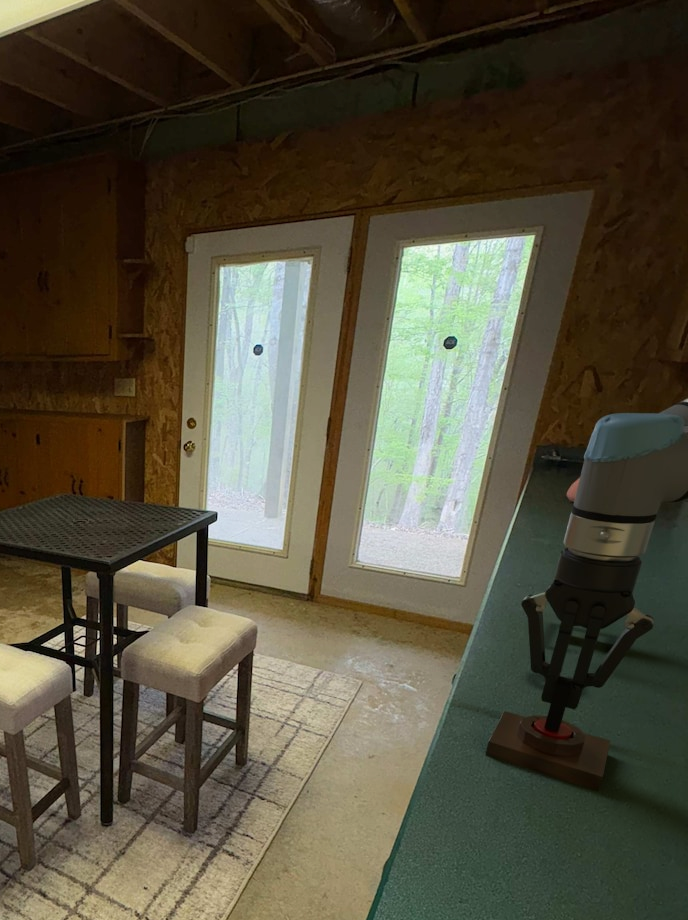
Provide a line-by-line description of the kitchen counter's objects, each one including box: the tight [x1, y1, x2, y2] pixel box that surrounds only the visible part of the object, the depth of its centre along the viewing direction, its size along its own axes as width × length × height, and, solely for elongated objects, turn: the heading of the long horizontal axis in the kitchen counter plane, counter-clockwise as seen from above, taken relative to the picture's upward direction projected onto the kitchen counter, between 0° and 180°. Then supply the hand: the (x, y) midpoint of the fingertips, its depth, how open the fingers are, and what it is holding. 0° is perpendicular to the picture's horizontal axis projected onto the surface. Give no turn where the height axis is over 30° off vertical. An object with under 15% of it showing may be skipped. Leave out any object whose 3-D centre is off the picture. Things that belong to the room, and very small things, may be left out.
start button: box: [533, 719, 572, 740], centre depth 82 cm, size 4×4×2 cm
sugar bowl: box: [566, 477, 580, 503], centre depth 212 cm, size 12×14×10 cm
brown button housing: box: [484, 710, 611, 792], centre depth 82 cm, size 12×10×4 cm
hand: (552, 725), depth 81 cm, fingers closed
